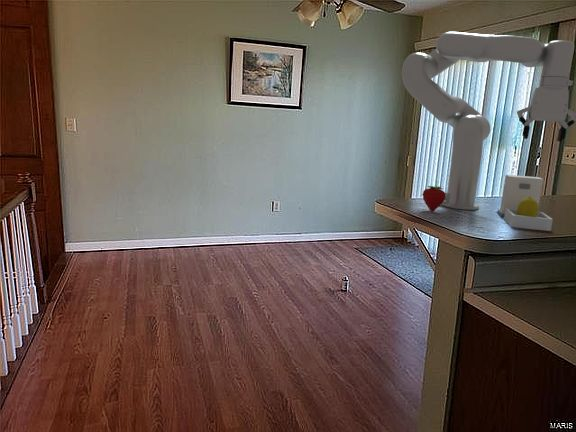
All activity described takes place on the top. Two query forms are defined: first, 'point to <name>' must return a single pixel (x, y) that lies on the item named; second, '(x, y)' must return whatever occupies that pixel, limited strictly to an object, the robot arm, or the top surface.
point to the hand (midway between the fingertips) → (542, 140)
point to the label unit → (519, 191)
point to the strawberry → (433, 197)
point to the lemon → (528, 207)
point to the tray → (528, 220)
